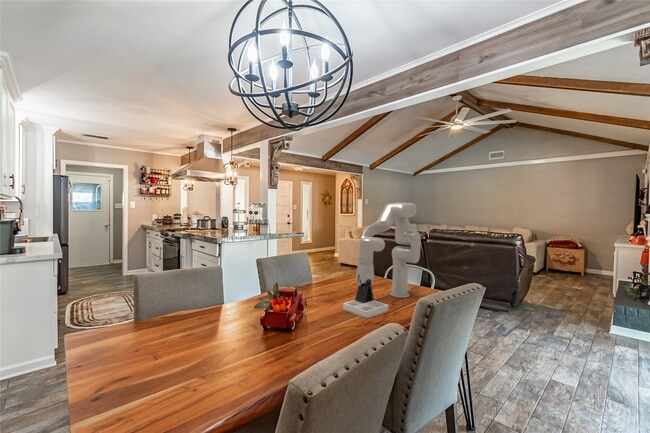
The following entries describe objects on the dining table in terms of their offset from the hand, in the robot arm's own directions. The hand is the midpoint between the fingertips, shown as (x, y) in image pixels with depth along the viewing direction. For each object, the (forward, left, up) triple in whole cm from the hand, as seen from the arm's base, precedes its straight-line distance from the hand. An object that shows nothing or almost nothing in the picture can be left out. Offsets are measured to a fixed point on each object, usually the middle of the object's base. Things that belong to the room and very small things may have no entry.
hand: (364, 294), depth 163 cm
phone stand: (0, 0, -3) cm, 3 cm away
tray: (-1, 0, -9) cm, 9 cm away
